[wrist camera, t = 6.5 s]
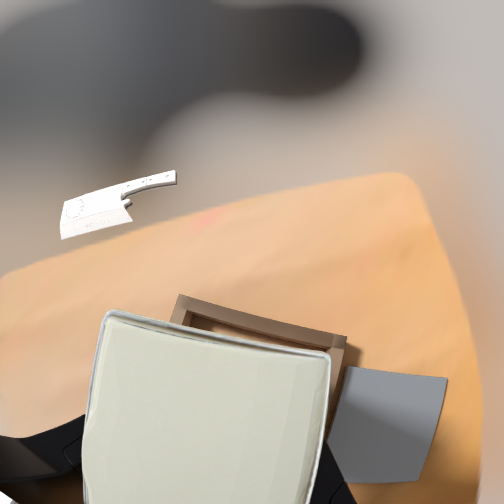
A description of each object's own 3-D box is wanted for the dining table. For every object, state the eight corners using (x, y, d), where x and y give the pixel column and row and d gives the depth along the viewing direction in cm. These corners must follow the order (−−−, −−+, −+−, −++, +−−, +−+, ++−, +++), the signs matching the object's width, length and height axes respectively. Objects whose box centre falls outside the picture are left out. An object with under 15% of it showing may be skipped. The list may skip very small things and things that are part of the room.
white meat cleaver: (177, 212, 27) (174, 206, 26) (61, 240, 26) (56, 236, 25) (177, 173, 29) (174, 167, 28) (68, 204, 28) (64, 199, 27)
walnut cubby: (304, 466, 16) (307, 474, 14) (148, 419, 18) (138, 423, 16) (340, 339, 20) (347, 336, 19) (186, 300, 22) (179, 293, 21)
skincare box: (269, 456, 13) (273, 602, 2) (197, 443, 13) (84, 549, 2) (286, 357, 15) (345, 346, 4) (213, 346, 16) (97, 302, 4)
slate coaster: (414, 478, 14) (417, 480, 14) (312, 477, 16) (313, 480, 15) (443, 377, 18) (447, 377, 17) (346, 365, 20) (348, 365, 19)
